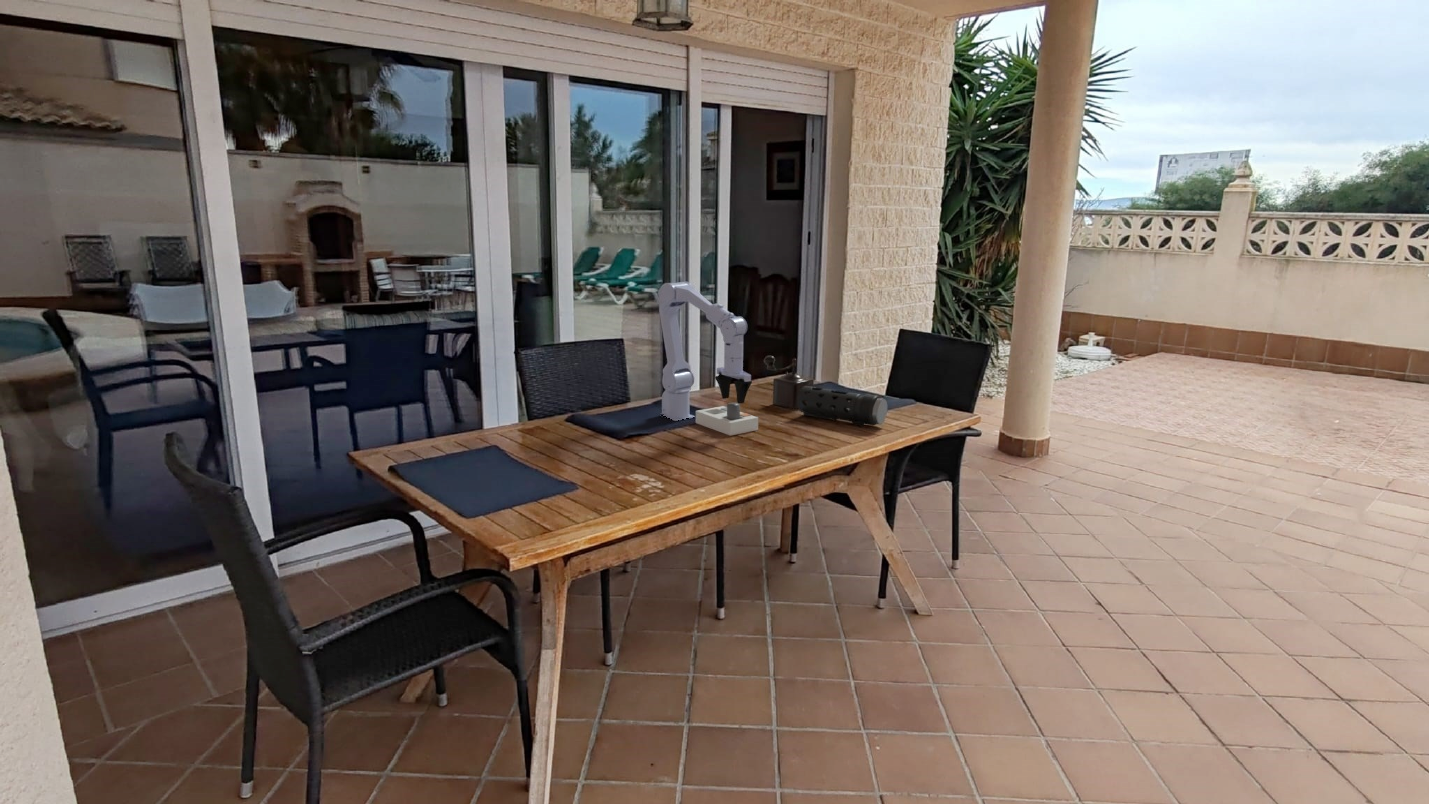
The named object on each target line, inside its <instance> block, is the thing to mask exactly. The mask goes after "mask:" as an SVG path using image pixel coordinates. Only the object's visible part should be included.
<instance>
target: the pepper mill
mask: <svg viewBox="0 0 1429 804" xmlns="http://www.w3.org/2000/svg"><path fill="white" fill-rule="evenodd" d="M775 361H776V358H775V357H774V356H773V355H766V356H765V358H764V359H763V363H764V364H765V365H766V369H767V370H768V371H769V370H770V371H774V372H783V371H785V374H783V375H781V376H780V377H775V378H773V379H772V380H773V386H772V387H773V388H772V390H773V392H772V404H773V405H775V406H778V407H781V408H785V409H789V410H799V409H798V404H797V401H798V395H799V392H800V390H801V389H802V388H803V387H804V386H811V387H814V382H815V381H814V379H812V378H808V377H805V376H804V377H803V376H802V375H801V374H799V373H797V372H796V365H797V359H796V358H793V359H792V363H791V364H789V366H786V367H783V368H776V366H775V365H774V364H775ZM791 368H792V372H789V371H787V370H790V369H791ZM808 394H810V393H806V395H808ZM804 402H805V401H804ZM805 403H806V404H808V402H807V401H806V402H805Z"/></svg>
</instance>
